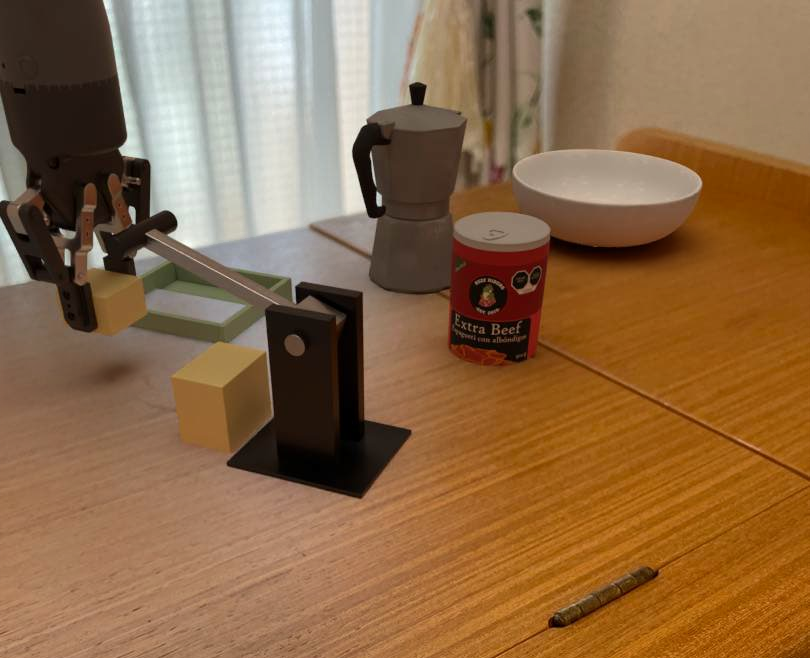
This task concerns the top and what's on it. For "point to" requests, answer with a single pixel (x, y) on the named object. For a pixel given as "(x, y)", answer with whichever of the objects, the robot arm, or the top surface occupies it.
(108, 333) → the butter pat
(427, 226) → the coffeepot
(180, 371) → the butter
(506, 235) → the canned food
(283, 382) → the lever stand
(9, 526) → the top surface
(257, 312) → the dish
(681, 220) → the serving bowl
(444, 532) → the top surface
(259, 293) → the lever
